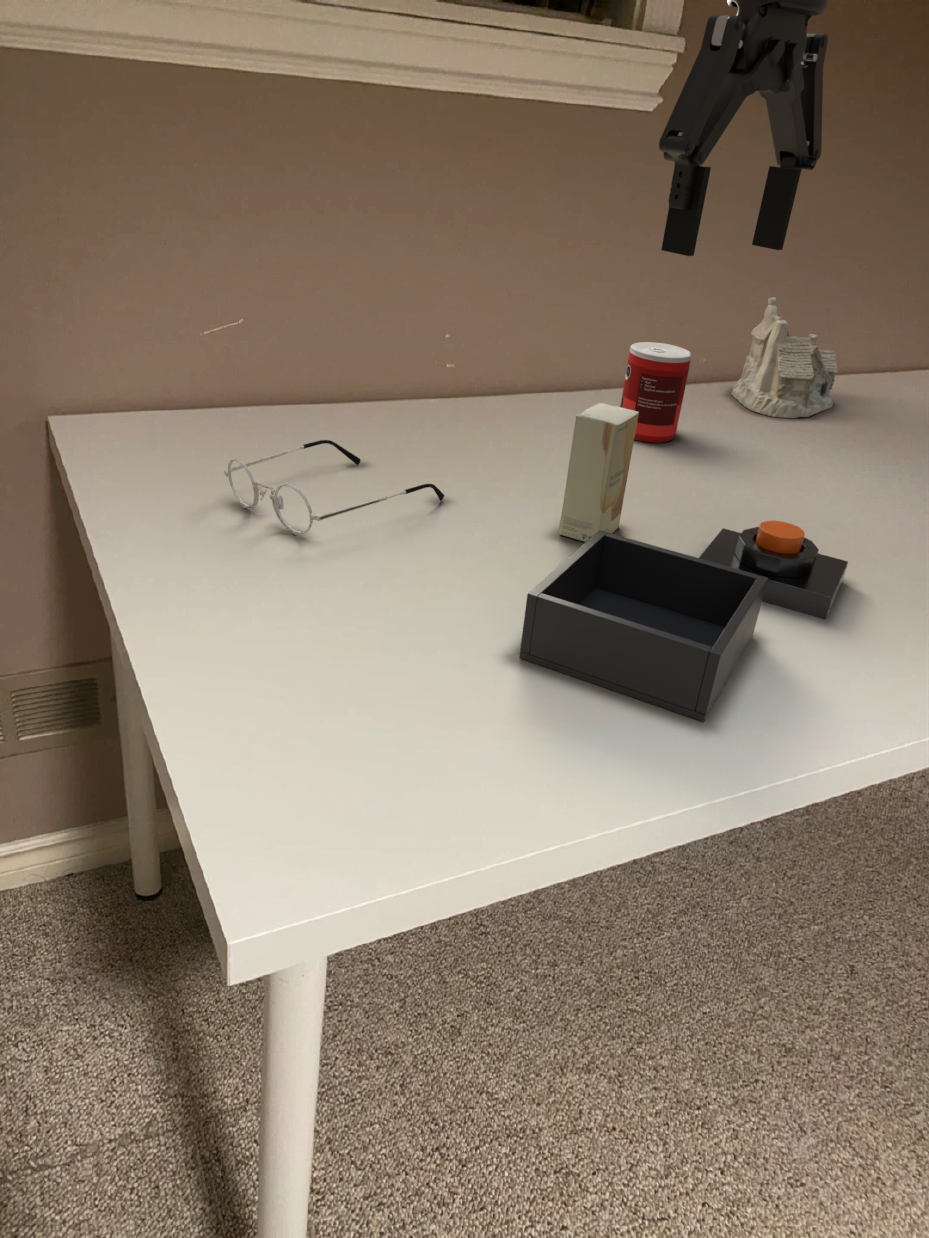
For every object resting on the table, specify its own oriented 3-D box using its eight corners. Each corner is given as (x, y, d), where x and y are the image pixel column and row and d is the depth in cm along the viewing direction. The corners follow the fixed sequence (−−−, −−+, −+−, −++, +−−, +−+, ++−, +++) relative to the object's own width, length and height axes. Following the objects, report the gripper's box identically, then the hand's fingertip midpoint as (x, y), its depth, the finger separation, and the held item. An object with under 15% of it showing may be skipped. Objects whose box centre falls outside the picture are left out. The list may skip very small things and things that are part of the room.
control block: (842, 582, 89) (854, 543, 87) (825, 619, 82) (838, 579, 80) (717, 548, 94) (726, 510, 92) (692, 581, 87) (701, 541, 85)
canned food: (644, 421, 130) (658, 339, 124) (688, 439, 124) (705, 354, 119) (603, 428, 125) (617, 344, 120) (647, 446, 120) (663, 359, 115)
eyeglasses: (210, 497, 95) (208, 449, 92) (351, 460, 107) (352, 417, 105) (313, 552, 86) (313, 501, 83) (454, 504, 98) (457, 459, 96)
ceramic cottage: (745, 413, 136) (776, 306, 130) (722, 386, 151) (748, 289, 144) (851, 429, 137) (887, 324, 130) (817, 401, 152) (848, 305, 145)
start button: (803, 545, 87) (808, 528, 86) (795, 560, 84) (800, 542, 83) (760, 534, 89) (765, 516, 88) (750, 548, 86) (755, 530, 85)
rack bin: (752, 637, 78) (768, 577, 76) (703, 722, 67) (720, 655, 64) (589, 587, 84) (599, 529, 81) (518, 657, 73) (527, 593, 70)
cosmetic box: (597, 547, 92) (617, 425, 86) (556, 535, 93) (573, 415, 87) (620, 526, 97) (641, 409, 91) (581, 515, 98) (599, 400, 92)
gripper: (825, -26, 81) (764, 238, 91) (645, -79, 65) (597, 247, 76) (909, -26, 76) (835, 252, 87) (738, -83, 61) (673, 264, 71)
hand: (724, 250), depth 81 cm, fingers open, 13 cm apart
